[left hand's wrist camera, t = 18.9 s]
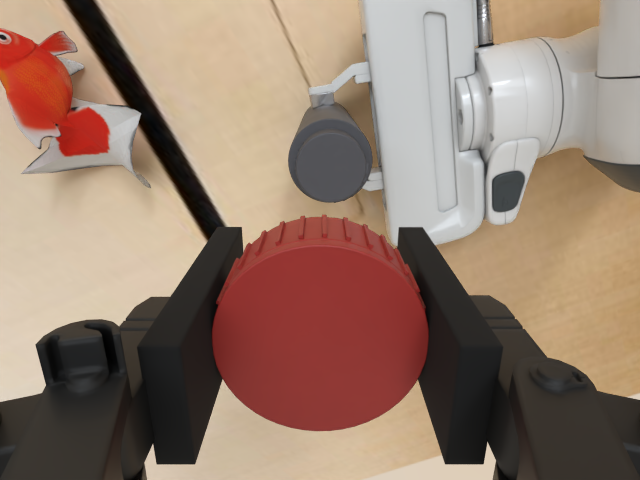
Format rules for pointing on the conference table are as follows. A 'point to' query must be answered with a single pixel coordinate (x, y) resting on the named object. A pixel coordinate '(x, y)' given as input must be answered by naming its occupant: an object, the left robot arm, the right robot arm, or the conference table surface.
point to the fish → (62, 108)
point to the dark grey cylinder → (329, 155)
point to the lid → (320, 325)
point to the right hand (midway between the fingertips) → (316, 137)
